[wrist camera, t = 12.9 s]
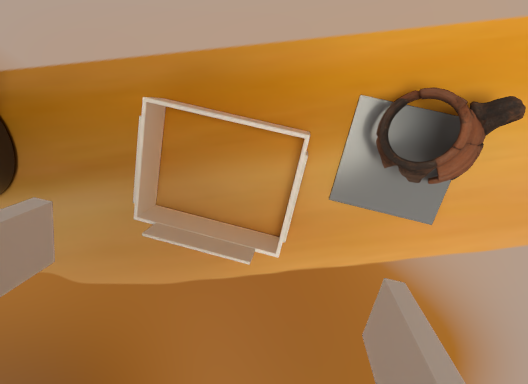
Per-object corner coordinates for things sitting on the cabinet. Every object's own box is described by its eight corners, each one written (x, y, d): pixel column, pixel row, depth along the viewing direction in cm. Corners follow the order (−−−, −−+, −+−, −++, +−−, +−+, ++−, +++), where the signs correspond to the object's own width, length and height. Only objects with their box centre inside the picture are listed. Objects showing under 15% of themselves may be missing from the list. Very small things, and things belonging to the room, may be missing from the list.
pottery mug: (406, 200, 33) (395, 198, 26) (371, 130, 35) (352, 110, 28) (535, 150, 27) (565, 129, 20) (482, 70, 30) (493, 27, 23)
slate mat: (329, 198, 34) (329, 199, 34) (360, 95, 31) (360, 94, 30) (430, 223, 33) (431, 224, 33) (475, 120, 30) (477, 120, 29)
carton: (150, 206, 38) (115, 228, 31) (160, 97, 34) (122, 95, 27) (284, 241, 37) (278, 272, 30) (312, 132, 32) (313, 139, 25)
